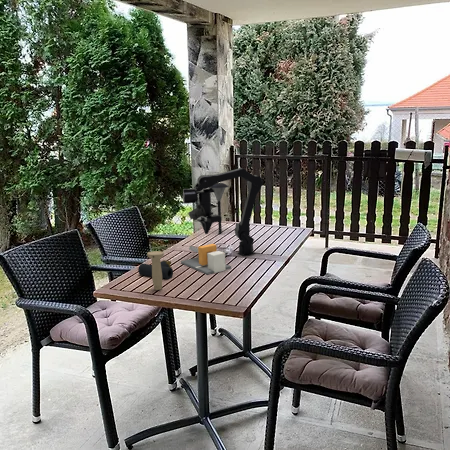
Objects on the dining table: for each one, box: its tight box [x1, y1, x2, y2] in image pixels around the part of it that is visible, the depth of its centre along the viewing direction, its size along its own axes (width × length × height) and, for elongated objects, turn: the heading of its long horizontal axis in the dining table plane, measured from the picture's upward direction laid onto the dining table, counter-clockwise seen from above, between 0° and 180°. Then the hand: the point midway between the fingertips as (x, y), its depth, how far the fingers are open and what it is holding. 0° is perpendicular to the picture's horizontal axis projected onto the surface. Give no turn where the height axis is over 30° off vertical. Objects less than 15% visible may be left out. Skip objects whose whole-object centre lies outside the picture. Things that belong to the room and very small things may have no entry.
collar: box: [197, 243, 218, 265], centre depth 202 cm, size 8×3×8 cm, turn 126°
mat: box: [180, 256, 232, 275], centre depth 205 cm, size 13×22×1 cm, turn 36°
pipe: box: [188, 245, 209, 254], centre depth 205 cm, size 2×21×2 cm, turn 37°
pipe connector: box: [137, 259, 174, 280], centre depth 196 cm, size 12×5×15 cm
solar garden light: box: [208, 182, 230, 235], centre depth 261 cm, size 12×12×30 cm
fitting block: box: [207, 250, 226, 274], centre depth 197 cm, size 6×5×8 cm
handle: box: [146, 250, 165, 291], centre depth 177 cm, size 5×6×15 cm
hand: (206, 233), depth 215 cm, fingers closed
